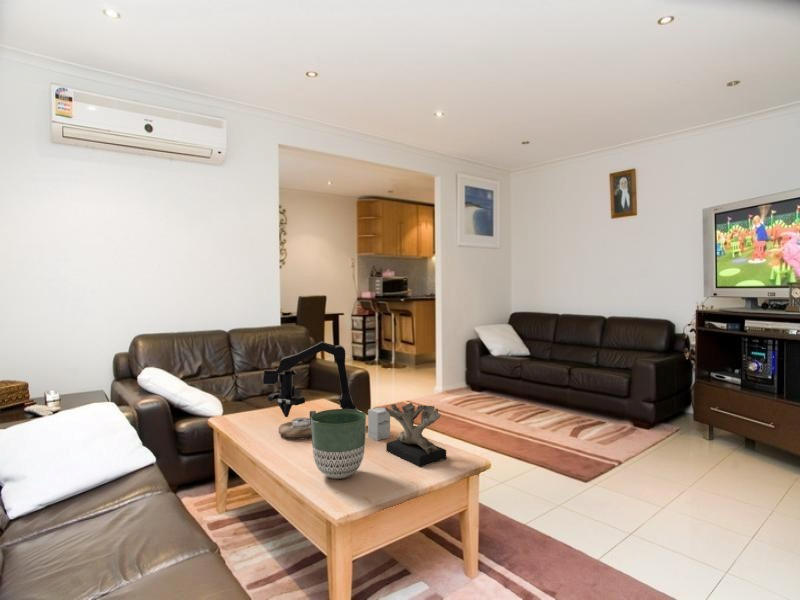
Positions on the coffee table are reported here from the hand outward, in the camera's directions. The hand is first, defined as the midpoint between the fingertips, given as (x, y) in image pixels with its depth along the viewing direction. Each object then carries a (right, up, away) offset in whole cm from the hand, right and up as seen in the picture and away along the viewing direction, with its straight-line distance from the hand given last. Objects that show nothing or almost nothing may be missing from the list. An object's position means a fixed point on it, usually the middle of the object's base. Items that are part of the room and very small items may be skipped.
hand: (286, 417), depth 213 cm
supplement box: (+44, -7, -10) cm, 46 cm away
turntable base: (+8, -7, -4) cm, 11 cm away
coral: (+58, -7, -35) cm, 68 cm away
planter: (+32, -8, -52) cm, 61 cm away
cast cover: (+8, -3, -5) cm, 10 cm away
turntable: (+8, -5, -4) cm, 10 cm away
